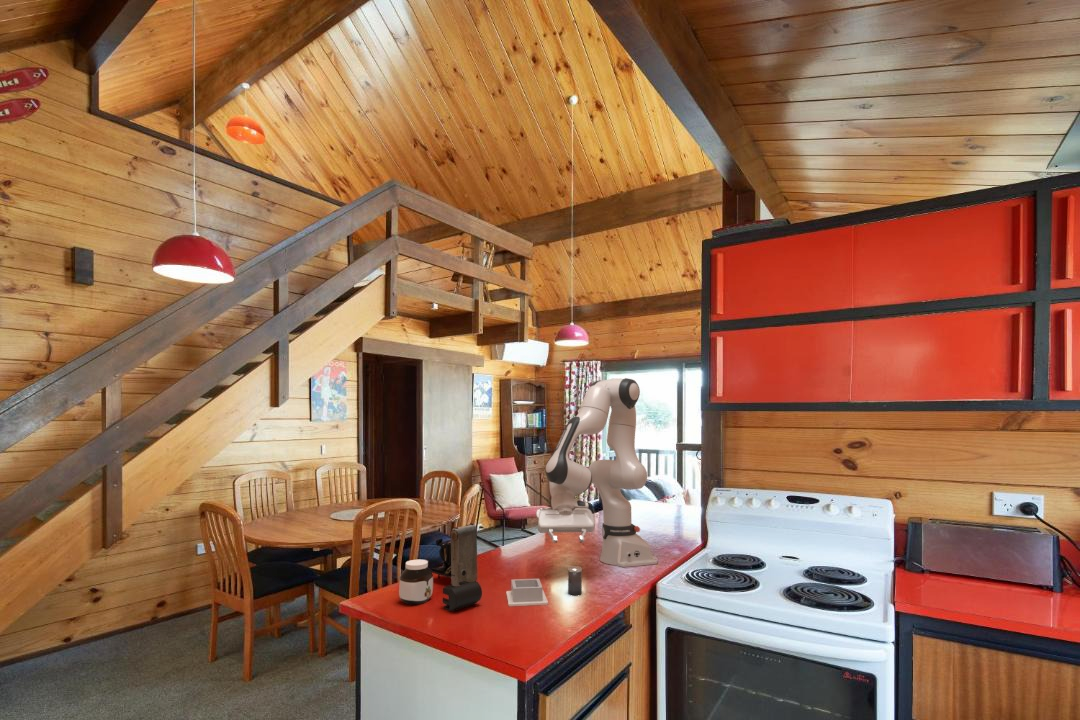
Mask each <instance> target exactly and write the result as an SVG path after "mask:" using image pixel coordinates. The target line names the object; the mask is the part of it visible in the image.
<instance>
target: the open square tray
mask: <svg viewBox="0 0 1080 720" xmlns="http://www.w3.org/2000/svg"><path fill="white" fill-rule="evenodd" d="M510 583H511V584H510V587H511V588H510V590H506V592H505V593H506V599H507V605H508V607H519V606H520V607H524V606H525V607H526V606H527V607H528V606H547V605H549V601H548V598H547V596H546V593H545V591H544V589H543V585H542V583H541V580H540V578H521V579H516V578H515V579H511V581H510Z"/></svg>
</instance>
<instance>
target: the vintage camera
mask: <svg viewBox="0 0 1080 720" xmlns="http://www.w3.org/2000/svg"><path fill="white" fill-rule="evenodd" d="M477 535H478V532H477V526H476V525H475V524H474V523H472V522H471V523H469V524H466V525H464V526H457V527H453V528H452V530H451V532H450V542H445V543H444V544H443V541H444V540H443V538H438V539H436V540H435V544H436V547H439V551H438V552H439V557H440V558H441V560H442V561H443V563H442V566H439V567H438V566H437V567H436V568H433V567H431V569H430V570H431V572H432V574H435V575H437V580H439V579H440V578H441V577H440V576H442V577H447V578H450V579H451V582H450V584H451V585H453V586H460V585H459V582H463V581H467V582H473V581H477V580H478V538H477Z"/></svg>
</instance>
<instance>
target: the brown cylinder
mask: <svg viewBox="0 0 1080 720" xmlns="http://www.w3.org/2000/svg"><path fill="white" fill-rule="evenodd" d="M582 570H583V568H582V567H581V566H580V565H579V566H577V565H571V566H568V567H567V591H568V592H567V594H568V595H569V596H571V595H572V596H573V597H578V595H579V596H582V595H583V588H582V587H583V586H582V585H583V584H582V583H583V582H582V578H583V577H582V576H583V575H582V572H583V571H582Z"/></svg>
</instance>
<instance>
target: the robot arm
mask: <svg viewBox="0 0 1080 720" xmlns="http://www.w3.org/2000/svg"><path fill="white" fill-rule="evenodd" d="M640 393H641V391H640V386H639V384H638V383H637V381H636V380H635V379H632V378H629V377H628V378H626V377H625V378H611V379H610V378H609V379H603V380H601V379H600V380H595V381H593V382H592V383H591V384H590V385H589V388H588V389H587V391H586V393H585V395H584V397H583V399H582V403H581V405H580V409H579V411H578V413H577V415H576V416H573V417H571V418H570V419H569V420H568V422H567V424H566V425H565V427H564V429H563V431H562V433H561V435H560V438H559V439H558V442H557V444H556V446H555V448H554V451H553V453H551V456H550V457H549V459H548V460H547V462H546V464H545V468H544V470H545V471H544V472H545V476H546V477H547V480H548V482H549V484H548V485H549V486H548V487H549V493H550V494H549V495H550V496H551V501H550V503H551V504H550V505H551V507H540V508H538V509H537V510H536V511H535V516H536V518H537V520H538V522H537V531H538V532H539V533H540V534H547V533H548V536H549V537H550V539H551V542H552V543H553V544H557V543H558V536H557V535H555V533H558V534H559V533H562V534H563V533H581V535H579V537H578V541H579V543H584V542H585V536H586V533H592V532H594V530H595V528H596V522H595V518H594V514H593V512H592V510H591V509H589V503H588V502H587V501H584V500H581V499H578V498H575V497H577V496H579V495H581V494H583V493H585V491H587V490H589V489H590V487H591V486H592V484H593V486H594V487H595V488H596V489H597V491H598V493H599V496H600V499H601V502H602V512H603V513H602V515H603V517H602V518H603V522H602V526H601V534H602V535H601V537H602V547H601V551H600V557H599V561H600V562H602V563H604V564H607V565H613V566H618V567H622V568H628V567H639V566H647V565H649V566H650V565H657V564H658V561H659V559H658V558H657V556H655V555H653V553H652V552H653V551H652V548H651V546H650V544H649V543H648V542H647V540H645V539H643V537H641V536H640V535H638V533H639V532H640V531H641V528H640V527H639V526H638V525H635V524H634V523H632V505H631V503H630V501H629V500H628V499H627V498H625V497H624V495H623V494H622V491H621V490H628V491H631V490H639V489H643V487H644V486H645V485H646V484H647V480H648V471H647V469H646V467H645V466H644V465H643V464H642V463H641V462H640V460H639V458H638V456H637V453H636V452H637V451H636V448H635V444H636V443H635V441H636V429H637V409H636V404H637V402H638V401H639V397H640V395H641V394H640ZM610 409H611V412H610ZM608 417H609V419H608ZM607 421H608V425H607V426H608V428H607V437H606V444H607V446H608V447H609V448H610V449H611V450H612V451H614V454H615V459H598V460H594V461H592V462H591V463H590V465H589V466H588V467H587V466H585V465H582V464H581V463H578V462H575V461H573V460H571V459H570V457H569V454H570V452H571V449H572V447H573V445H574V443H575V441H576V439H577V437H578V436H580V435H583V436H586V435H588V436H589V435H590V436H591V435H597V434H599V433H600V432H601V431H603V430H604V429H605V427H606V424H607Z"/></svg>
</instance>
